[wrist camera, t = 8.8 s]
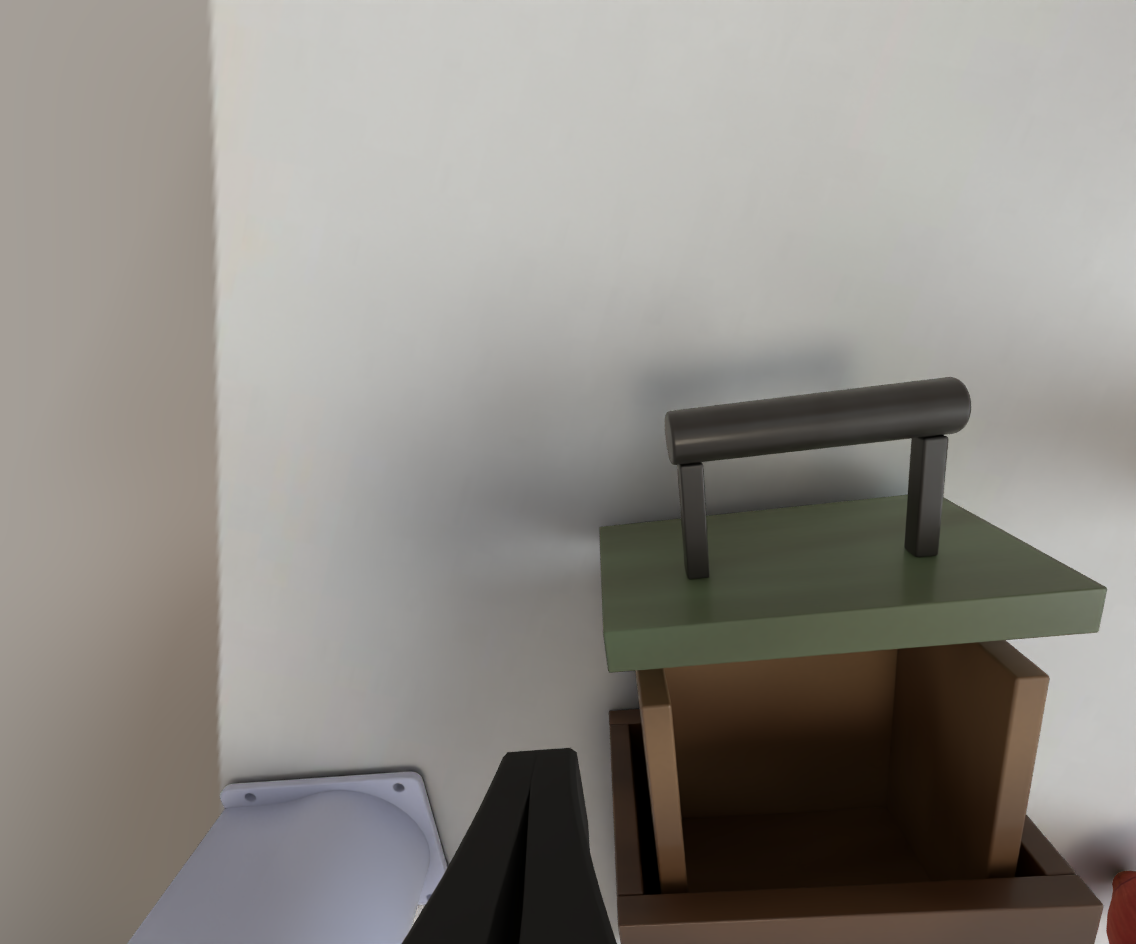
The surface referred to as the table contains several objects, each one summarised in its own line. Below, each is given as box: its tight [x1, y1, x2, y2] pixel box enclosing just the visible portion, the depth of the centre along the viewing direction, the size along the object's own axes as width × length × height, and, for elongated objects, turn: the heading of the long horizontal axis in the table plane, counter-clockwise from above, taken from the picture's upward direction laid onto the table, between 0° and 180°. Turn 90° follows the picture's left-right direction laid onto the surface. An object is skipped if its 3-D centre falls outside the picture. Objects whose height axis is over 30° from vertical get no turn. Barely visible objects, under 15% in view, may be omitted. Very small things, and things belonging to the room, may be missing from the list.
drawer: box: [599, 377, 1107, 894], centre depth 17 cm, size 18×11×6 cm, turn 8°
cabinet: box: [609, 709, 1103, 944], centre depth 20 cm, size 15×13×8 cm
